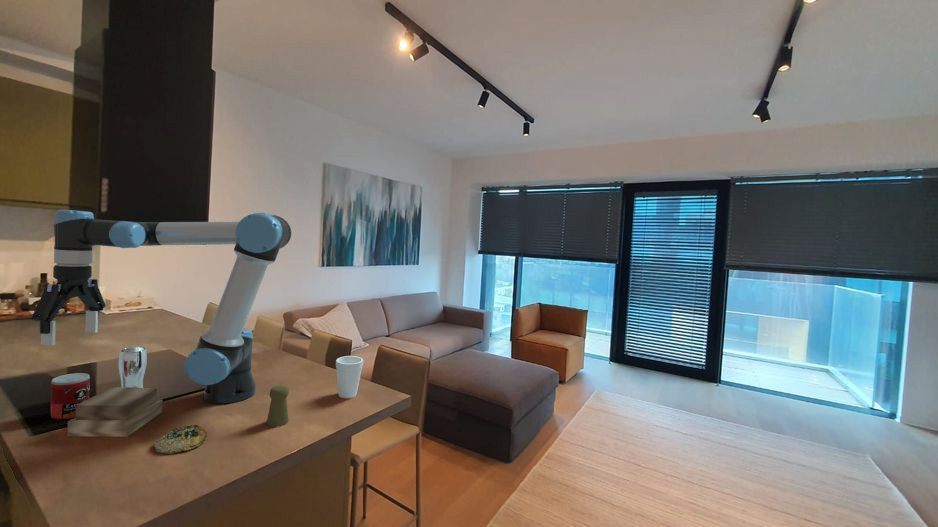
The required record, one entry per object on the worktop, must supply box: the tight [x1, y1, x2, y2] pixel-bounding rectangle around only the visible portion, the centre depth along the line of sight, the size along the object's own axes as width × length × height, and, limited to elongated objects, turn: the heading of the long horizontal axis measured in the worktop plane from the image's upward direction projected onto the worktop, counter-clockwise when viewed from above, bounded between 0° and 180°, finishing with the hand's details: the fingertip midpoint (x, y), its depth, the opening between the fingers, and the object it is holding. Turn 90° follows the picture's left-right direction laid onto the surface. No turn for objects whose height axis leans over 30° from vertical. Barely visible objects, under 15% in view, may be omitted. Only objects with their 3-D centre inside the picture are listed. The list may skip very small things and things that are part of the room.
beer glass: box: [118, 346, 148, 388], centre depth 124 cm, size 7×7×15 cm
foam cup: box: [335, 355, 364, 399], centre depth 137 cm, size 10×9×13 cm
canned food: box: [50, 372, 91, 420], centre depth 109 cm, size 8×8×11 cm
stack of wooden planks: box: [67, 386, 164, 438], centre depth 106 cm, size 14×14×8 cm
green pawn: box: [266, 384, 290, 428], centre depth 114 cm, size 6×6×11 cm
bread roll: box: [153, 424, 208, 455], centre depth 99 cm, size 11×11×5 cm
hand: (71, 338), depth 108 cm, fingers open, 13 cm apart
